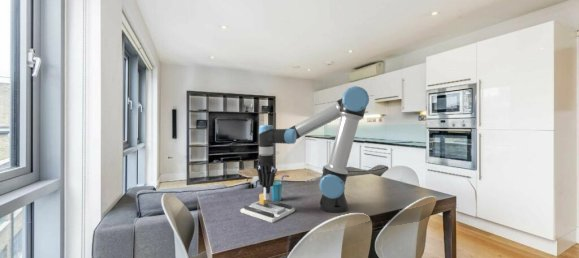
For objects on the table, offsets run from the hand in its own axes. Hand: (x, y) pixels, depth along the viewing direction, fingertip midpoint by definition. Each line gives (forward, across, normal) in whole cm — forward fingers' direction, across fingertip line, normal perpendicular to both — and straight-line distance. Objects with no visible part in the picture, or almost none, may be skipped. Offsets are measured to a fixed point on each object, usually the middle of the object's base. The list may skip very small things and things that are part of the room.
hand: (266, 199), depth 123 cm
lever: (+5, +2, 0) cm, 5 cm away
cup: (+7, +7, -18) cm, 21 cm away
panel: (+7, -1, 0) cm, 7 cm away
